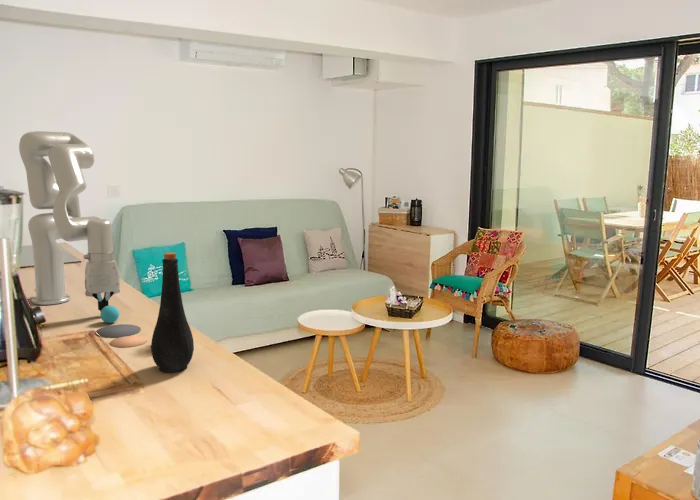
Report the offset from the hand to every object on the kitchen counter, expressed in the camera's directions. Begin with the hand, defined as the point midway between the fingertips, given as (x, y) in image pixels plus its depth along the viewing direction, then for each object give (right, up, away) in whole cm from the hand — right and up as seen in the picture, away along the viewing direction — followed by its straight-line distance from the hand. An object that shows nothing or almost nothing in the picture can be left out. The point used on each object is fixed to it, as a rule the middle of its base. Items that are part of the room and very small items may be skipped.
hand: (103, 311), depth 202 cm
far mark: (+17, -6, -25) cm, 31 cm away
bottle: (+36, -10, -45) cm, 58 cm away
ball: (+5, 0, -7) cm, 9 cm away
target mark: (+11, -4, -15) cm, 19 cm away
